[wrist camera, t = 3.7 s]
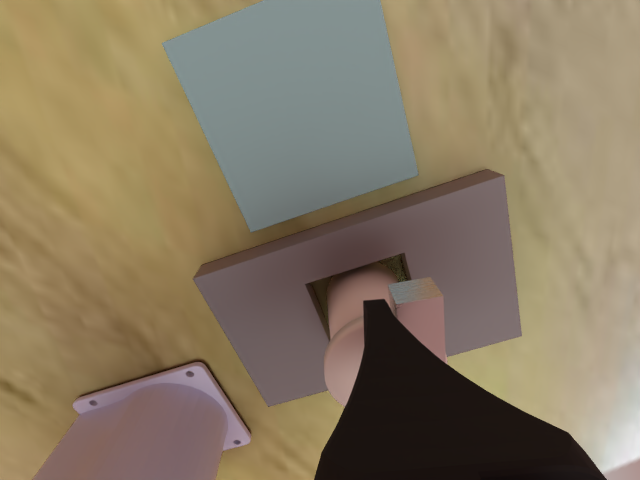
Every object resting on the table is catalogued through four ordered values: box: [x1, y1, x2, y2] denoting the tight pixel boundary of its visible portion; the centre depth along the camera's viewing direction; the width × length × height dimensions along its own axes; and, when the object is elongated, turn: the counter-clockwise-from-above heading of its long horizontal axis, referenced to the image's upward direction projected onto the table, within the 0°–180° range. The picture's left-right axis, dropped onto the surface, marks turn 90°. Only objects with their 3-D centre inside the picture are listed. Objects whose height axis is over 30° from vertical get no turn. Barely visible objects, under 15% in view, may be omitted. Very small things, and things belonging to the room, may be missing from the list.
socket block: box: [193, 169, 522, 407], centre depth 18 cm, size 16×10×2 cm, turn 109°
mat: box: [162, 0, 419, 232], centre depth 15 cm, size 9×9×1 cm
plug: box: [324, 262, 447, 407], centre depth 16 cm, size 5×5×6 cm
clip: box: [388, 277, 446, 363], centre depth 13 cm, size 14×2×1 cm, turn 11°
